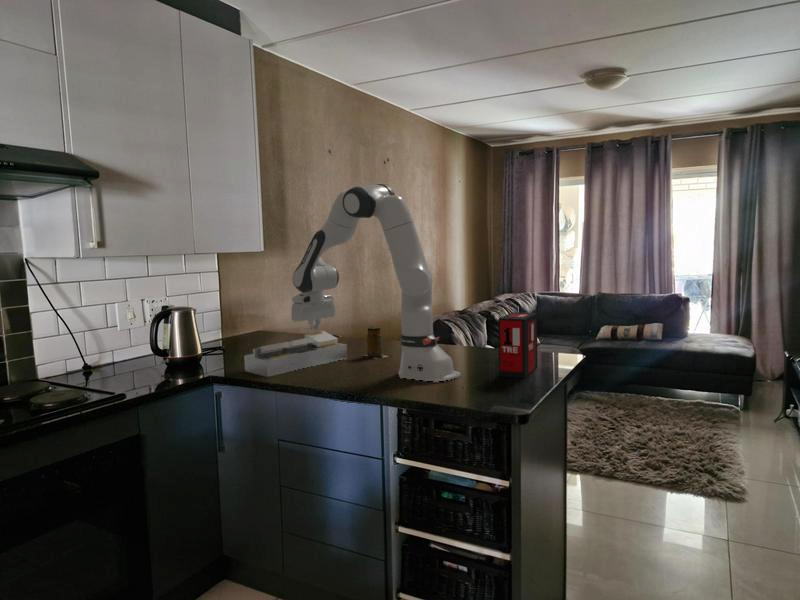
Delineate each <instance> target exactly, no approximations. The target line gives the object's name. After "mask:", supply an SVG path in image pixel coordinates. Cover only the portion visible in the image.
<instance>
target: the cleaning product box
mask: <svg viewBox="0 0 800 600" xmlns="http://www.w3.org/2000/svg"><path fill="white" fill-rule="evenodd" d="M498 368H499V369H498V376H499V377H504V378H505V377H506V378H517V379H526V378H527V377H529V375H530V374H532V373H533V372H534V371H535V370H537V369H538V313H536V312H533V313H532V312H514V311H513V312H511V313H508V314H506V315H503V316H501V317H499V318H498Z"/></svg>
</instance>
